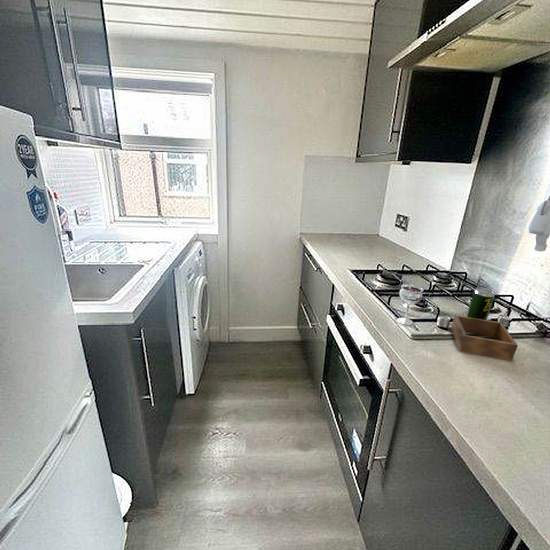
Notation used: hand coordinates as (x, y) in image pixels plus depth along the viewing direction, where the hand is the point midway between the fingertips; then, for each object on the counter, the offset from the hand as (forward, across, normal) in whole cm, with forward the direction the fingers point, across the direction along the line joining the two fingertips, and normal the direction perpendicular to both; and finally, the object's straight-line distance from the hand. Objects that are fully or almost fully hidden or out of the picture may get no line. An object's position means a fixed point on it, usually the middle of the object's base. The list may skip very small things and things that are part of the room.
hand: (549, 248), depth 78 cm
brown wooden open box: (+29, -10, +4) cm, 31 cm away
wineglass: (+29, -20, +23) cm, 42 cm away
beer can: (+29, +1, +12) cm, 32 cm away
